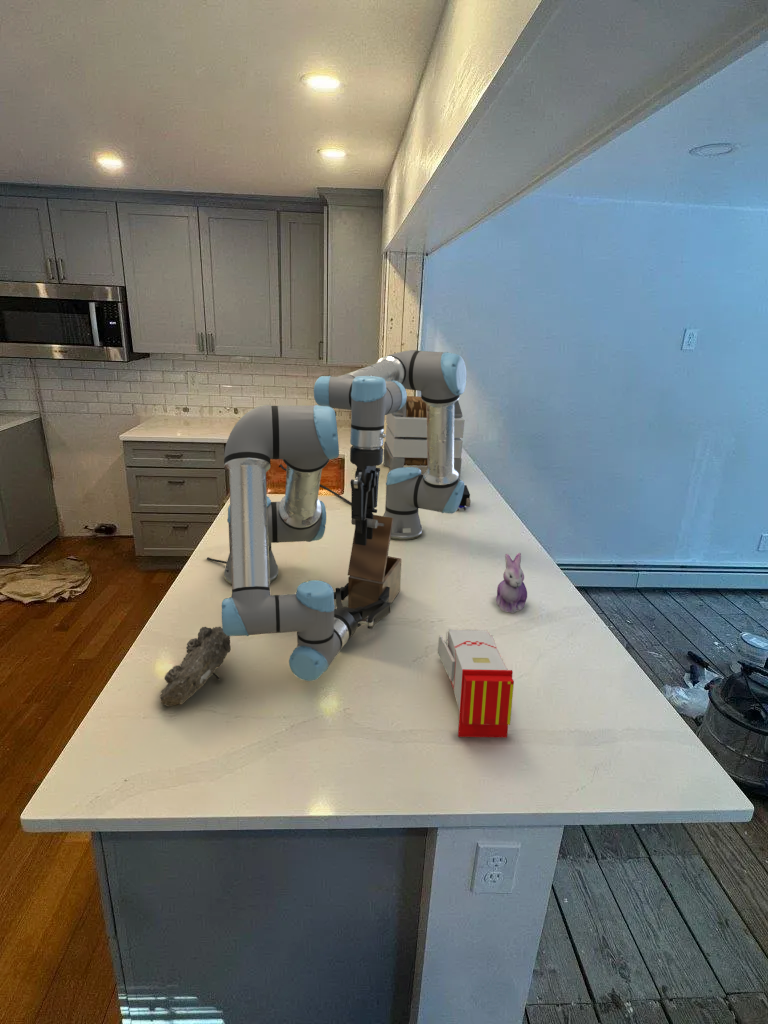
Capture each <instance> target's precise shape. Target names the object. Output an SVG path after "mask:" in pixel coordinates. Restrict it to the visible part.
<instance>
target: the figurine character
mask: <svg viewBox="0 0 768 1024" xmlns="http://www.w3.org/2000/svg"><path fill="white" fill-rule="evenodd" d="M466 507H468V508H470V507H471V493H470V491H469V488H468V486H467V485H466V484H464V492H463V496H462V499H461V502H460V505H459V507H458V509H457V510H456V511H459V510H460V509H463V511H465V512H466V511H467V508H466Z"/></svg>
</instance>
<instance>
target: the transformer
mask: <svg viewBox="0 0 768 1024" xmlns="http://www.w3.org/2000/svg"><path fill="white" fill-rule="evenodd" d="M385 423H386V428H385V435H386V437H385V438H384V441H383V462H382V464H383V466H384V467H388V468H389V472H390V471H391V470H393V469H397V468H403V467H405V466H406V467H417V466H418V467H428V459H427V412H426V403H425V402H424V401H423V400H422V399H421V396H415V395H414V396H413V395H412V396H411V395H407V399H406V403H405V405H404V406H403V407H402V408H401V409H399V410H398V411H397V412H395V413H390V414H387V415H385ZM464 429H465V419H464V418H463V411H462V408H461V405H460V402H459V399H458V400H457V401H456V402H455V403H454V469H455V470H456V471H457V472H458V475H459V477H458V479H459V480H461V472H462V461H463V460H462V453H463V442H464V441H463V440H462V439H463V438H464V431H465V430H464Z"/></svg>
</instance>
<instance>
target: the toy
mask: <svg viewBox="0 0 768 1024" xmlns="http://www.w3.org/2000/svg"><path fill="white" fill-rule="evenodd" d="M446 640H447V643H446V641H445V639H444V636H443V635H442V634H439V637H438V646H437V656H438V657H439V659H440V661H441V663H442V666H443V668H444V670H445V672H446V674H447V677H448V679H449V681H450V684H451V687H452V690H453V693H454V697H455V701H456V705H457V708H458V711H459V714H458V715H459V716H458V730H457V731H458V732H457V737H458V738H508V731H509V726H510V725H511V717H512V707H513V697H514V696H513V695H514V684H515V680H514V679H513V673H514V671H513V670H512V669H508V667H507V665H506V662H505V661H504V659H503V658H502V655H501V653H500V651H499V649H498V647H497V643H496V639H495V637H494V635H493V634H491V632H490V631H489V629H467V628H466V629H465V628H463V629H461V628H460V629H459V628H448V630H447V639H446Z"/></svg>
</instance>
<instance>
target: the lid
mask: <svg viewBox="0 0 768 1024" xmlns="http://www.w3.org/2000/svg"><path fill="white" fill-rule="evenodd" d="M366 519H367V527H370V528H373V537H372V539H367V542H366V545H365V546H364V545H359V544H355V531H354V533H353V539H352V544H351V551H350V557H349V564H348V570H347V576H348V577H349V576H354V577H359V578H364V579H369V580H375V581H380V582H384V575H385V569H386V563H387V557H388V556H389V550H390V543H391V539H390V538H391V532H392V526H393V520H394V518H390V517H384V516H383V515H377V514H373V519H369V518H366ZM350 522H351V525H353V526H355V519H352V518H351V520H350Z"/></svg>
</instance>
